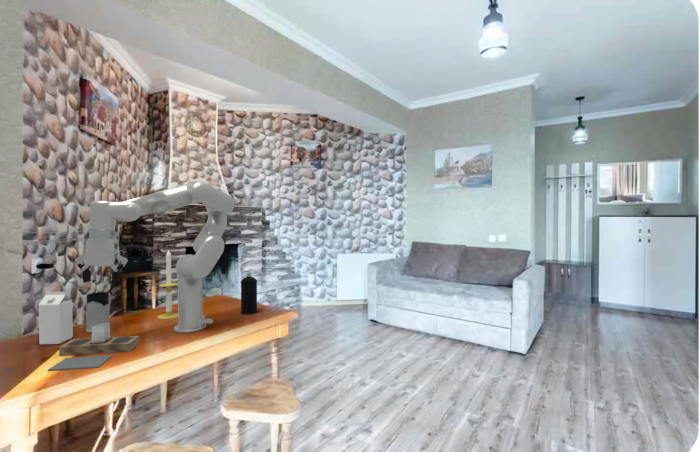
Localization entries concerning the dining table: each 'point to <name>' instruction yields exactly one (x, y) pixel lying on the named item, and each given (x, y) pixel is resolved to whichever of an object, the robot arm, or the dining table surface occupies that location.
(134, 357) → the dining table surface
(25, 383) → the dining table surface
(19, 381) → the dining table surface
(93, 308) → the glass holder
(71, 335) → the milk carton
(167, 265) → the candle
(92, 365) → the mat
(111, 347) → the rail
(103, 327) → the grey rectangular block
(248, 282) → the aerosol can
